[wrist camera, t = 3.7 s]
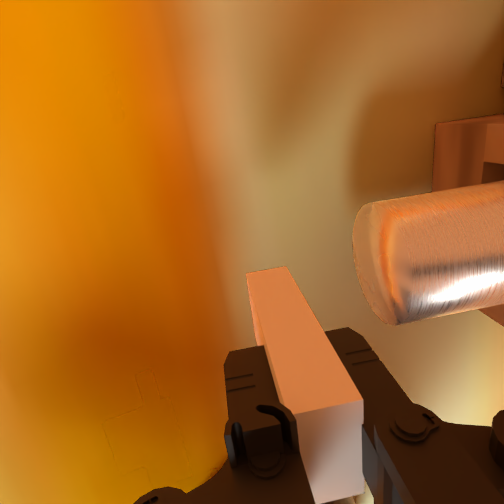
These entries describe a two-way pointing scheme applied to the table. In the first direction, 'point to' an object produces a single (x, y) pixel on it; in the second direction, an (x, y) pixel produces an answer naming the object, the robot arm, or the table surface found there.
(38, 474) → the table surface
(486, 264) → the axle
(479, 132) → the brown open box
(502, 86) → the v block
